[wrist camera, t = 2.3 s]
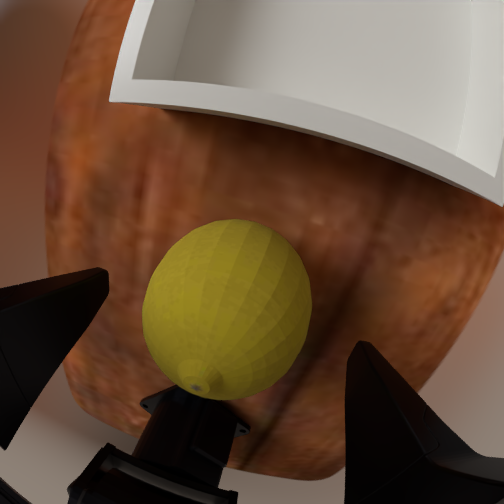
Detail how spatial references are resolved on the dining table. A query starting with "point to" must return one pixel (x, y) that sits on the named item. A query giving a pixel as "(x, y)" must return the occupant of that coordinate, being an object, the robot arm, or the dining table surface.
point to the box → (335, 74)
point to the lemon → (227, 310)
